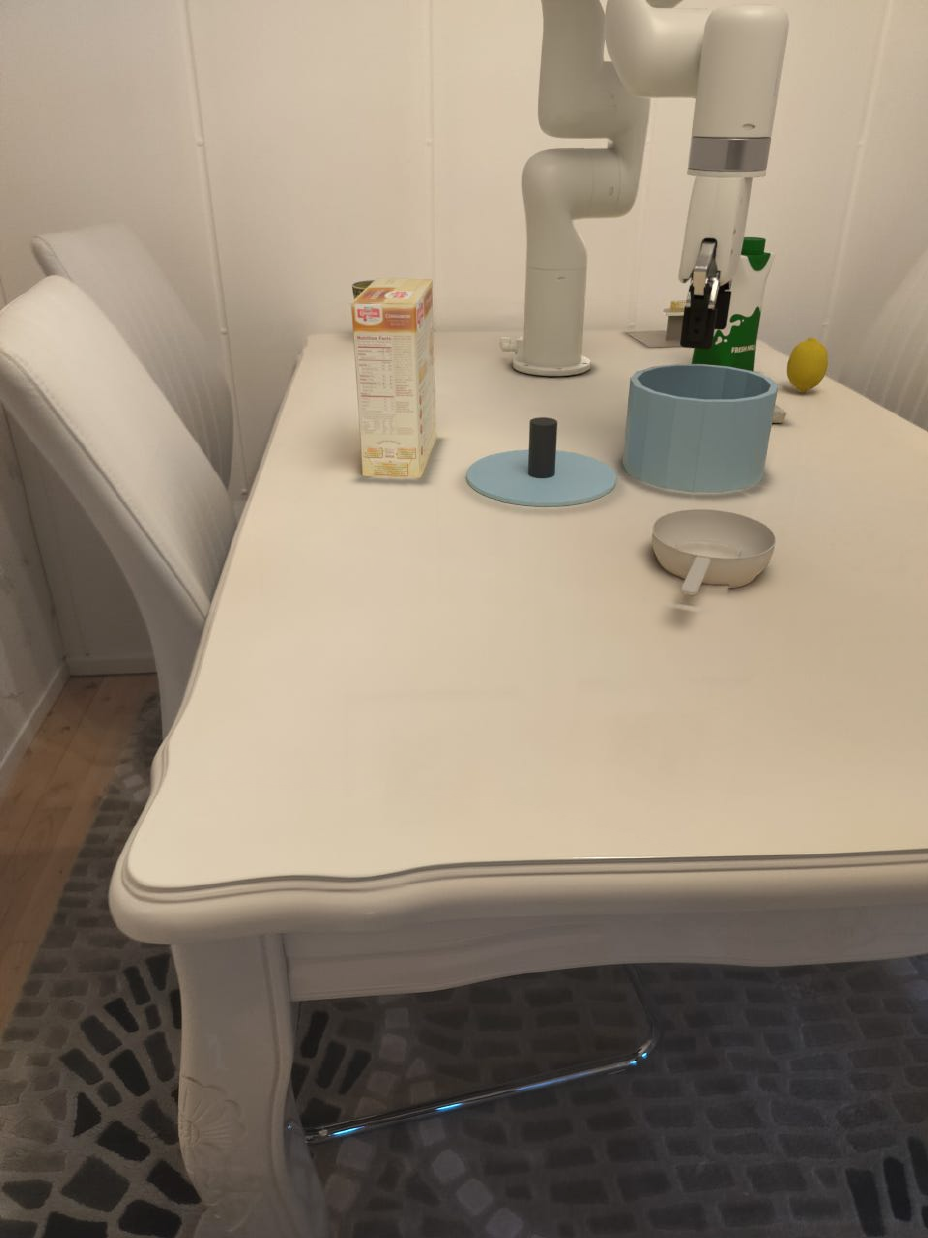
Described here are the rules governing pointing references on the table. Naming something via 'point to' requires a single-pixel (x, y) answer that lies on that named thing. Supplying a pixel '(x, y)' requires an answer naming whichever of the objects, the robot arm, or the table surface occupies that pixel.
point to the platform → (673, 329)
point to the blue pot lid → (541, 472)
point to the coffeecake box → (395, 375)
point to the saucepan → (719, 530)
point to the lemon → (807, 364)
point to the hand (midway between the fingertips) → (703, 337)
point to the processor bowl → (698, 427)
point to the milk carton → (741, 311)
